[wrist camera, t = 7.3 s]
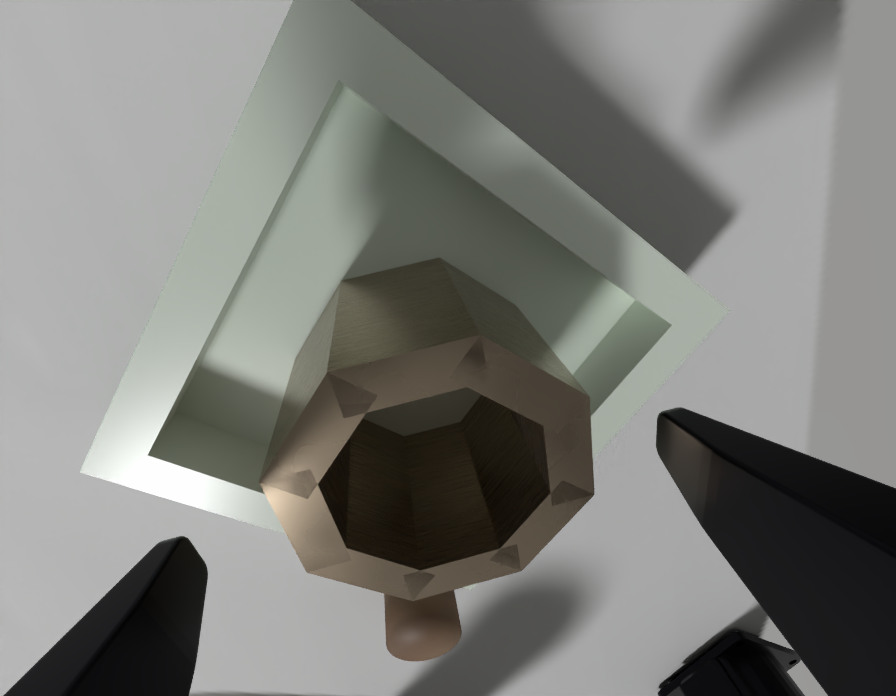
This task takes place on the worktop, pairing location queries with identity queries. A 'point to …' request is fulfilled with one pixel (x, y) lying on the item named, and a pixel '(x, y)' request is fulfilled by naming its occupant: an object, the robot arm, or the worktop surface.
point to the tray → (373, 262)
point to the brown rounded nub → (421, 626)
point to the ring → (426, 437)
